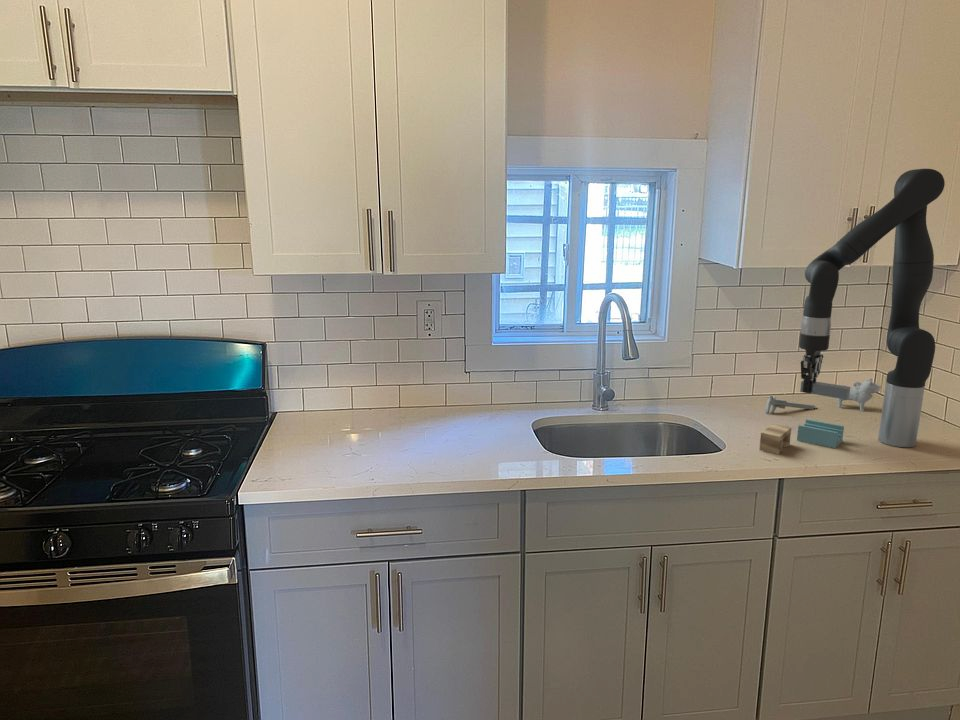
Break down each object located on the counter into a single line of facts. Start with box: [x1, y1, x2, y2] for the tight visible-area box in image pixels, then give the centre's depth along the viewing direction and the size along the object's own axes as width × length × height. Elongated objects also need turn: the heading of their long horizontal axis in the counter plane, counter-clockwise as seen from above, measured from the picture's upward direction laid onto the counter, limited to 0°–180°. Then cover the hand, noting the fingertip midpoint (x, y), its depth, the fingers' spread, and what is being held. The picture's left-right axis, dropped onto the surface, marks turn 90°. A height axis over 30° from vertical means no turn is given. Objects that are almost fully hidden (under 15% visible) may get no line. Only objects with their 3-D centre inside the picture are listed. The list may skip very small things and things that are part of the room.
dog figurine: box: [836, 378, 882, 413], centre depth 221 cm, size 5×13×11 cm, turn 60°
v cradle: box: [796, 418, 845, 449], centre depth 191 cm, size 8×10×4 cm
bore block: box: [759, 423, 792, 455], centre depth 185 cm, size 10×5×5 cm, turn 139°
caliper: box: [765, 395, 818, 414], centre depth 219 cm, size 20×1×6 cm, turn 108°
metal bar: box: [799, 379, 851, 401], centre depth 188 cm, size 3×12×3 cm, turn 49°
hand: (808, 391), depth 191 cm, fingers closed on metal bar, 3 cm apart
